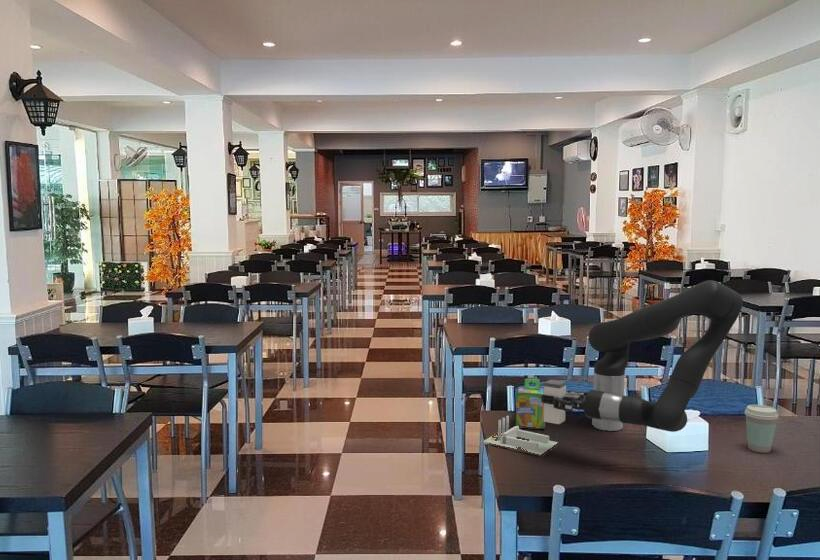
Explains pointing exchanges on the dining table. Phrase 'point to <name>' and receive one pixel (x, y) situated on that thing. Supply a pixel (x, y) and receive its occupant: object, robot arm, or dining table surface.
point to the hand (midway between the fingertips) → (545, 396)
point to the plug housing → (550, 412)
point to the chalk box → (530, 405)
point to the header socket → (508, 439)
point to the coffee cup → (760, 427)
